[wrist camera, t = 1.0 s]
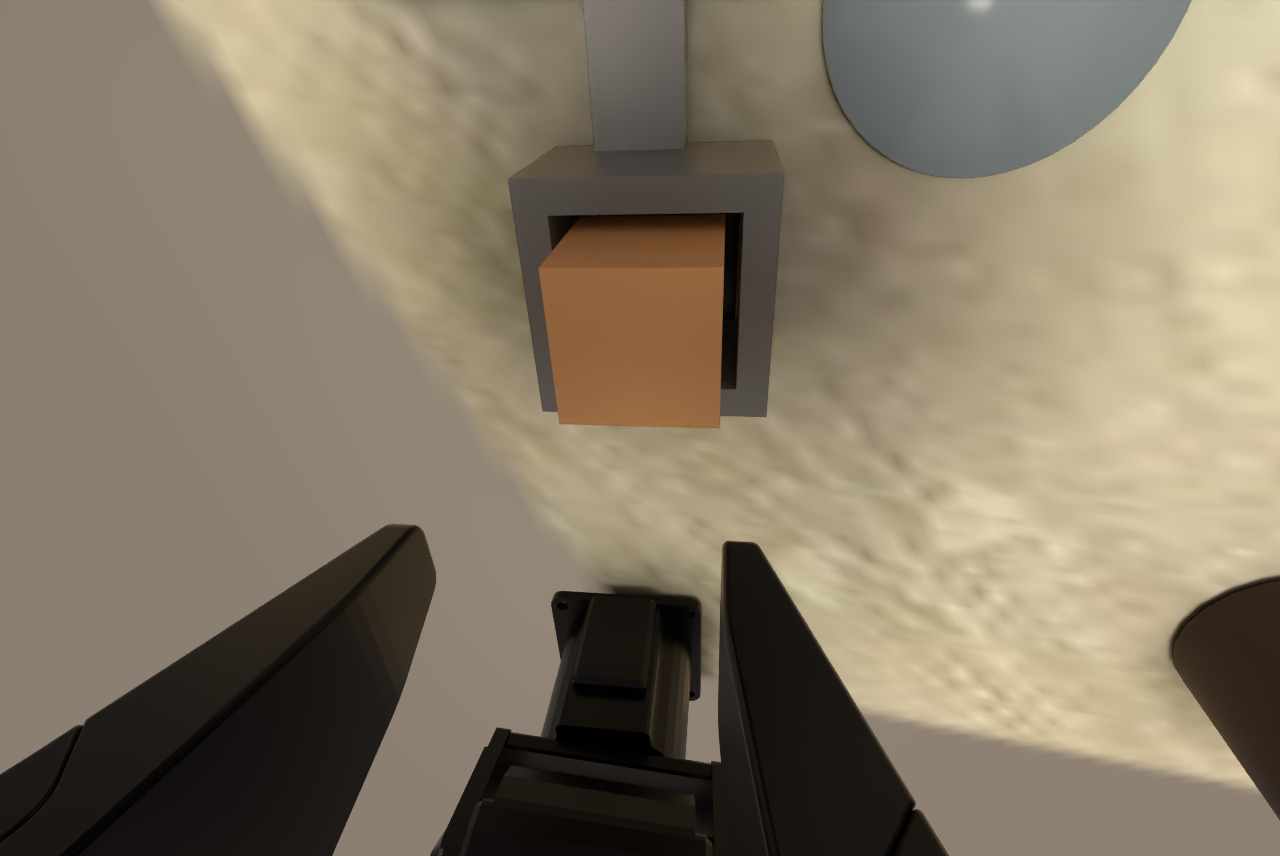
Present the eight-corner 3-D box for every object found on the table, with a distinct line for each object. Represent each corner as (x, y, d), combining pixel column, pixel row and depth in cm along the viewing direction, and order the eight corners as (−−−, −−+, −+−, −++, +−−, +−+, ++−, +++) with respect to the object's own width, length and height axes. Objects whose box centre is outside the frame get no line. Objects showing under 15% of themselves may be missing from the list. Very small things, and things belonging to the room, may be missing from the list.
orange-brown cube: (721, 349, 17) (719, 428, 14) (592, 348, 17) (559, 424, 14) (725, 214, 15) (723, 267, 12) (579, 216, 16) (538, 268, 12)
